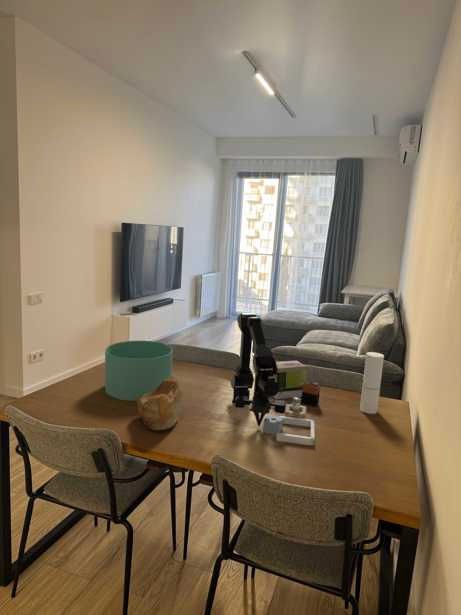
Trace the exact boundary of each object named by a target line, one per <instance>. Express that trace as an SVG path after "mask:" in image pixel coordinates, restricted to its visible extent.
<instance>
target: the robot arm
mask: <svg viewBox="0 0 461 615" xmlns="http://www.w3.org/2000/svg"><path fill="white" fill-rule="evenodd" d="M236 321H237V324H238V328H239V331H240V332H241V336H240V348H239V359H238V360H239V362H238V366H237V367H236V368H235V370H234V373H233V374H234V375H233V376H232V377H231V380H230V387H231V388H232V389H233V392H232V394H233V395H232V400H231V402H232V403H234V407H235V408H237V409H244V408H245V407H246V405H247V406H250V408H249V412H252V413H253V415H254V418H255V420H256V424H257V426H258V427H260V426H261V424H262V423H263V421H264V417H265V416H266V414H270V411H271V409H274V410H273V411H274V412H275V414H283V415H285V411H286V404H287V402H286V401H285V400H280V399H275V401H274V402H272V399H270V398H272V397H273V396H275V395H276V394H277V393H278V392H279V385H278V383H277V382H276V381H275V378H274V377H273V375H277V370H278V369H277V365H276V362H277V361H276V357H275V356H274V354H273V352H272V350H271V349H270V348H269V347H268V345H267V343H266V342H267V341H266V339H265V335H264V330H263V327H262V326H263V325H262V318H261V316H259V315H257V314H256V313H254V312H250V313H249V312H240V314H238V316H237V320H236ZM252 345H253V348H254V353H253V355H251V354H252ZM251 356H252V358H251ZM251 359H252V366H253V370H254V373H253V371H252V370H251ZM268 369H273V370H268ZM250 389H253V396H252V399H250V393H251V390H250ZM273 398H274V397H273Z"/></svg>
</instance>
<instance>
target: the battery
mask: <svg viewBox="0 0 461 615" xmlns="http://www.w3.org/2000/svg"><path fill="white" fill-rule="evenodd" d="M320 395H321V384H319V383H318V382H310V381H308V380H306V382H305V383H304V384H303V388H302V397H301V398H300V399H301V400H300V404H302V405H304V406H310V407H312V408H313V407H314V408H316V407H317V406H318V405H319V404H320Z"/></svg>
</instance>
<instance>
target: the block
mask: <svg viewBox="0 0 461 615" xmlns="http://www.w3.org/2000/svg"><path fill="white" fill-rule="evenodd" d="M262 424H263V425H262V433H264V434H265V433H266V434H270V435H274V436H277V433H281V432H282V430H283V425H284V424H283V418H282V417H280V416H276V415H272V414H267V415H266V417H265V418H263V421H262Z"/></svg>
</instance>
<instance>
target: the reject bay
mask: <svg viewBox="0 0 461 615" xmlns="http://www.w3.org/2000/svg"><path fill="white" fill-rule="evenodd" d="M279 417H282V418H283V425H284V424H285V425H292V426H299V427H307V428H309V430H310V432H309V436H305V435H298V434H297V435H296V434H291V433H281V432H280V433H277V435H276V442H284V443H290V444H291V443H292V444H298V445H303V446H304V445H305V446H312V447H315V440H316V439H315V420H314V419H309V418H306V419H302V418H294V417H286V416H285V415H279Z"/></svg>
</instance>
